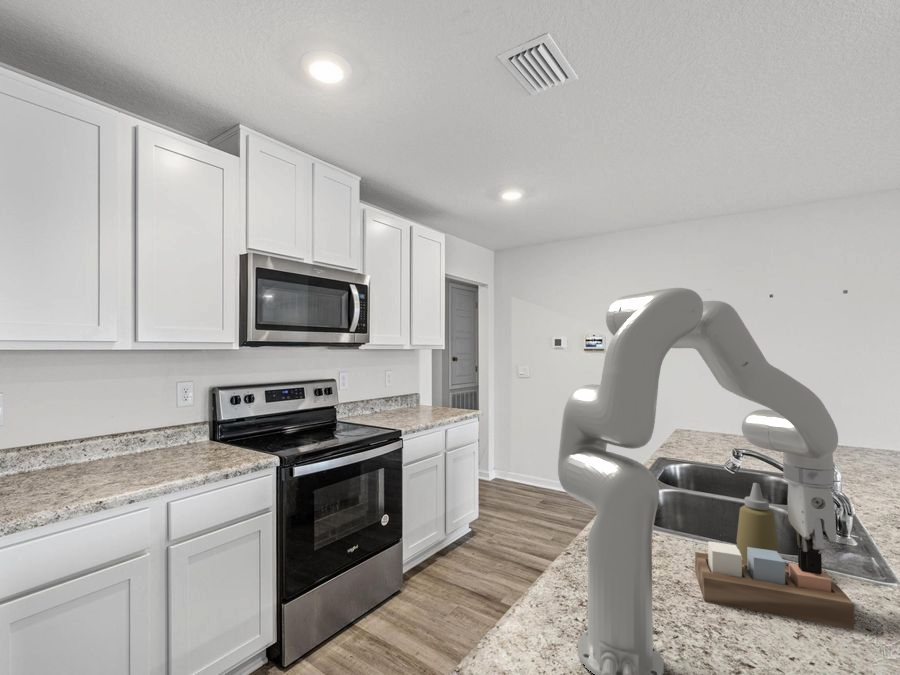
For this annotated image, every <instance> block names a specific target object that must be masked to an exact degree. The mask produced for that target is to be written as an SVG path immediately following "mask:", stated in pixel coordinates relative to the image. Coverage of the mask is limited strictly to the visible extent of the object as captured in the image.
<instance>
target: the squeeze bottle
mask: <svg viewBox="0 0 900 675" xmlns="http://www.w3.org/2000/svg"><path fill="white" fill-rule="evenodd" d="M769 508H770V502H769V500H768V499H766V498H764V496H763V493H762V488H761V484H760V483H757V482H753V483H752V487H751V491H750V494H749V496H745V497H744V505H742V506H740V507H739V513H738V514H739V516H738V522H737V523H738V524H737V532H736V533H737V534H736V540H735V541H736V544H737V545H736V546H737V548H738V550H739V552H740V554H741V555H742V559H745V560H747V547H751V548H758V549H765V550H772V551H777V552H778V554H780V553H779V552H780V550H779V542H778V541H779V540H778V536H777V535H778V534H777V526H776V520H775V519H776V518H775V514H774V511H772V510H770V509H769Z"/></svg>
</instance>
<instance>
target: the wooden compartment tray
mask: <svg viewBox="0 0 900 675" xmlns="http://www.w3.org/2000/svg"><path fill="white" fill-rule="evenodd" d="M694 562H695V564H694V566H695V568H694V571H695V576H696V578H697V583H698V586H699V588H700V592H701V595H702V598H703V602H706V603H710V604H711V603H712V604H715V605H721V606H722V605H723V606H728V607H732V608H738V609H743V610H748V611H752V612H753V611H754V612H757V613H758V612H759V613H765V614H771V615H775V616H780V617H786V618H791V619H795V620H796V619H797V620H799V621H801V620H802V621H806V622H810V623H811V622H812V623H816V624H817V623H818V624H822V625H823V624H824V625H827V626H832V627H838V628H843V629H849V630H854V631H855V603H854V602H853V600H851V598H850V597H848V595H847V594H846V593H845V592H844V590H842V588H840V586H839V585H838V584H837V583H836V582H835V581H834V579H833V578H831V577H830V575H829V574H828V573H827V572H826V571H823V572H824V573H825V574H826V575H827V576H828V577H829V578H830V580H831V592H826V591H820V590H814V589H808V588H802V587H796V586H795V585H794V583H793V582H792V581H791V579H790V578H789V565H785V585H784V584H778V583H772V582H767V581H761V580H755V579H751V577H750V575H749V573H748V568H747V560H745V559H742V577H737V576H731V575H725V574H719V573H713V572H710V570H709V567H708V553H705V552H698V551H695V552H694Z"/></svg>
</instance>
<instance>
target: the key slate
mask: <svg viewBox="0 0 900 675" xmlns="http://www.w3.org/2000/svg"><path fill="white" fill-rule="evenodd" d="M785 566H786V562H785V560H784V559H783V558H782V556H781V555H780V553H778V552H777V551H772V550H765V549H758V548H751V547H747V568H748V573H749V575H750V577H751V579H755V580H761V581H767V582H772V583H778V584H784V585H785Z"/></svg>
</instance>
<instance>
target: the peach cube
mask: <svg viewBox="0 0 900 675" xmlns="http://www.w3.org/2000/svg"><path fill="white" fill-rule="evenodd" d="M788 566H789V578H790V579H791V581H792V582H793V583H794V585H795V586H796V587H802V588H808V589H814V590H820V591H826V592H831V580H830V578H831V577H830V578H829V577H828V576H827V575H826V574H825V573H824V572H825V571H824V570H822V574H815V573H809V572H803V571H801V569H800V568H799V567H798V563H791V562H790V563H788Z"/></svg>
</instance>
